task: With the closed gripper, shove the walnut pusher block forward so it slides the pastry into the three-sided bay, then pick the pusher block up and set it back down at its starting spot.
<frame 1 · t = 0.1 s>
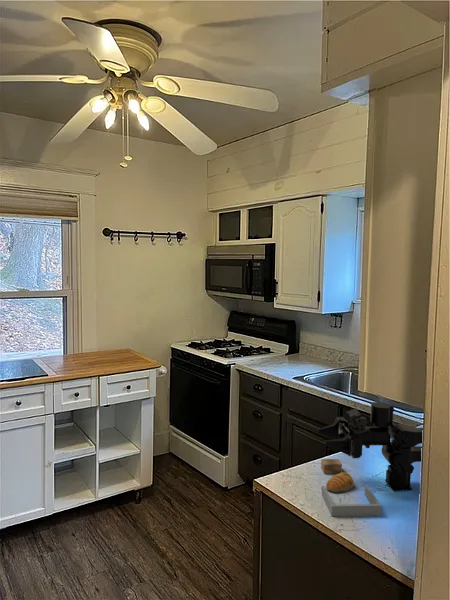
hand: (321, 436, 145), 17 cm above the worktop, tool horizontal, fingers open, 9 cm apart
bay: (349, 504, 137), on the worktop
pastry: (340, 487, 147), on the worktop
pusher: (331, 471, 157), on the worktop
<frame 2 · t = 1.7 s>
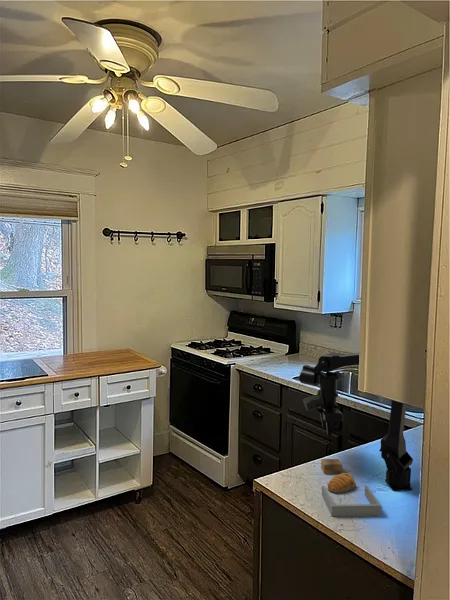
hand: (326, 431, 163), 11 cm above the worktop, tool pointing down, fingers open, 6 cm apart
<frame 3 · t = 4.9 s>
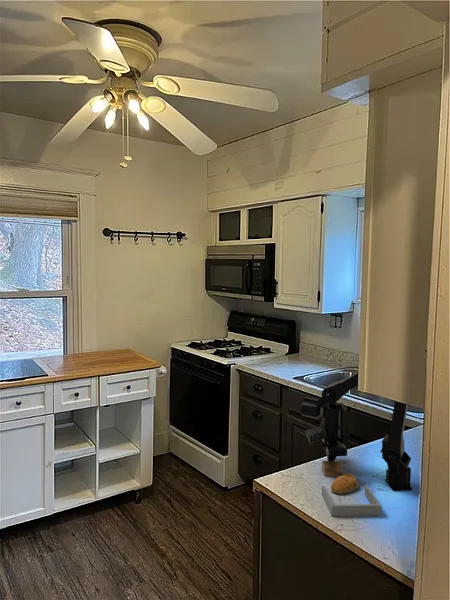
hand: (330, 464, 159), 1 cm above the worktop, tool pointing down, fingers closed
pastry: (344, 489, 146), on the worktop
pusher: (332, 473, 156), on the worktop, touching gripper
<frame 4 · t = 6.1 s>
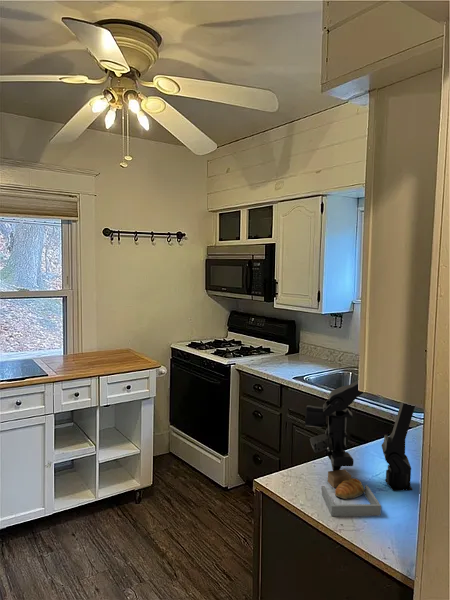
hand: (335, 473, 152), 2 cm above the worktop, tool pointing down, fingers closed
pastry: (349, 494, 143), on the worktop
pusher: (339, 483, 149), on the worktop, touching gripper
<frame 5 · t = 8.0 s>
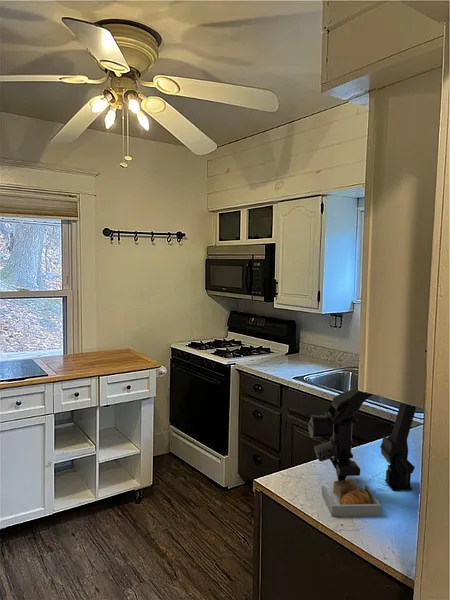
hand: (340, 483, 146), 2 cm above the worktop, tool pointing down, fingers closed
pastry: (355, 505, 137), on the worktop
pusher: (345, 493, 142), on the worktop, touching gripper
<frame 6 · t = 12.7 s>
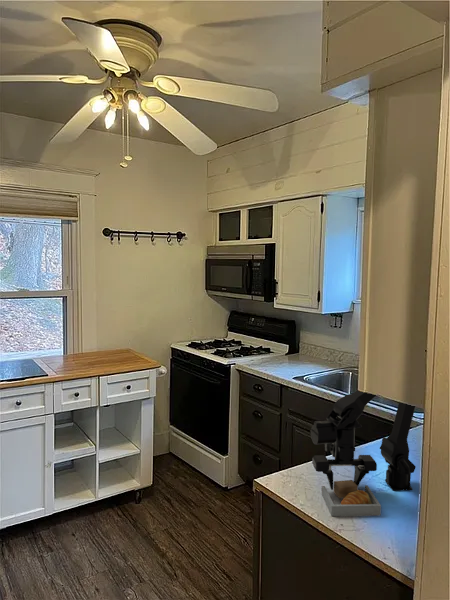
hand: (343, 489, 143), 1 cm above the worktop, tool pointing down, fingers open, 7 cm apart
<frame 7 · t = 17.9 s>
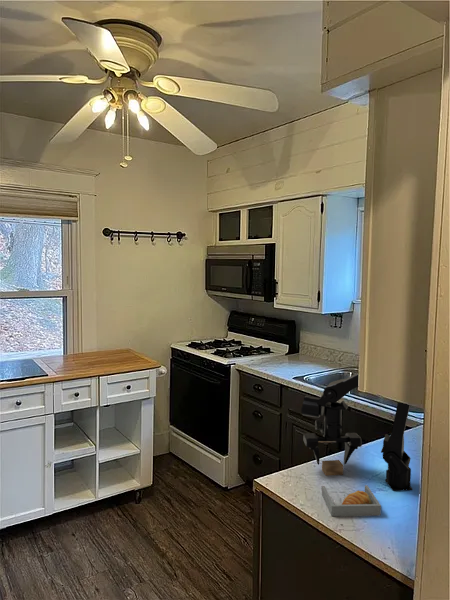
hand: (331, 463, 157), 2 cm above the worktop, tool pointing down, fingers open, 9 cm apart
pusher: (332, 472, 156), on the worktop
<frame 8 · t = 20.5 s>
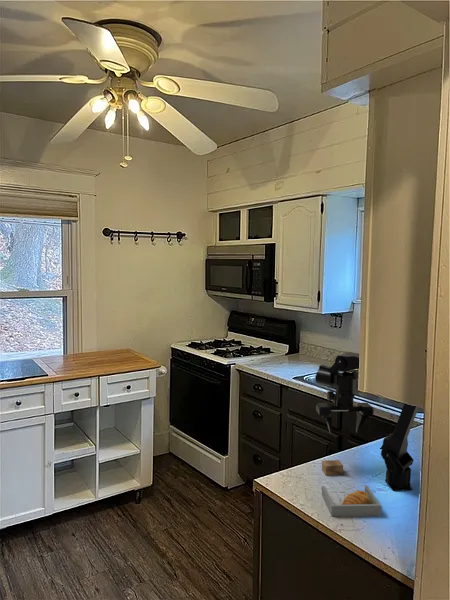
hand: (343, 432, 160), 12 cm above the worktop, tool pointing down, fingers open, 9 cm apart
at the end: pastry inside the target area (1.8 cm from its centre), on the worktop; pusher inside the target area (1.0 cm from its centre), on the worktop; the gripper is holding nothing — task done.
